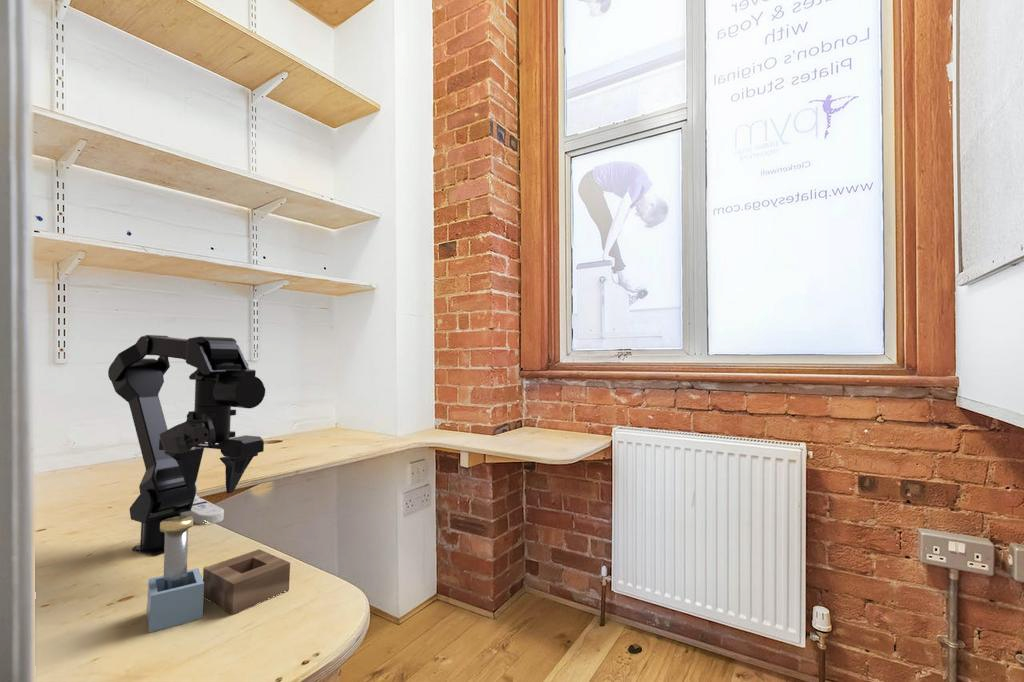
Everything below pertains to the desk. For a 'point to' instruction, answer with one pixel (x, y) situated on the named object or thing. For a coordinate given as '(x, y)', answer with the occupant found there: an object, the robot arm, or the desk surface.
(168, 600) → the holder
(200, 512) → the electronic device
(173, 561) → the pin
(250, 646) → the desk surface
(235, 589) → the hitch block
